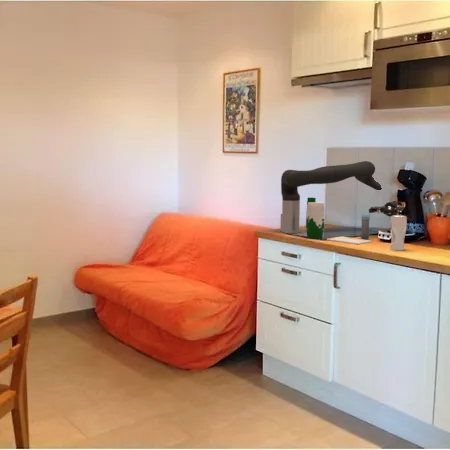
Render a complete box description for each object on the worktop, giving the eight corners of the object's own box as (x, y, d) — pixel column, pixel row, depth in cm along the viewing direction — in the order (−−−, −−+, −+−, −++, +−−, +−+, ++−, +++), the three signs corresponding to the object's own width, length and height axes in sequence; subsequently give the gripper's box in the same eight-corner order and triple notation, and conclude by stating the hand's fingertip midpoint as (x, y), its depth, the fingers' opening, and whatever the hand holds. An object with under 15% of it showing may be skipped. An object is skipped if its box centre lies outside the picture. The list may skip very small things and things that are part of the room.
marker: (359, 239, 286) (360, 214, 284) (363, 238, 288) (364, 213, 286) (365, 240, 283) (366, 214, 281) (370, 239, 285) (371, 214, 284)
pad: (326, 240, 283) (326, 238, 283) (341, 237, 291) (341, 236, 291) (357, 244, 270) (357, 243, 270) (372, 241, 278) (372, 240, 278)
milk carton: (305, 235, 296) (306, 197, 293) (323, 236, 295) (324, 197, 292) (306, 238, 287) (307, 198, 284) (324, 238, 286) (325, 198, 284)
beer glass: (390, 247, 262) (391, 214, 260) (406, 248, 260) (407, 215, 258) (388, 250, 256) (389, 216, 254) (404, 251, 253) (406, 217, 251)
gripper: (382, 200, 307) (364, 203, 296) (406, 202, 296) (389, 204, 285) (382, 214, 308) (364, 217, 297) (406, 216, 297) (389, 220, 287)
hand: (376, 211), depth 291 cm, fingers open, 8 cm apart
